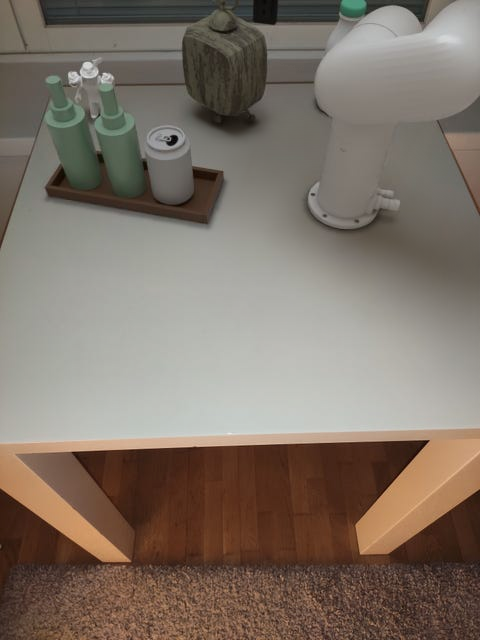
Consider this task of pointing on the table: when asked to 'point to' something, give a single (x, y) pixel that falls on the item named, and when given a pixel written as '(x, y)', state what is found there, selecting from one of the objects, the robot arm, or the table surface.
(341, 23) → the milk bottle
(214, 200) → the tray
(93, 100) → the hat wearing toy figure
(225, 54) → the tabletop clock
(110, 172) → the bottle
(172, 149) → the can
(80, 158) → the bottle
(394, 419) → the table surface
